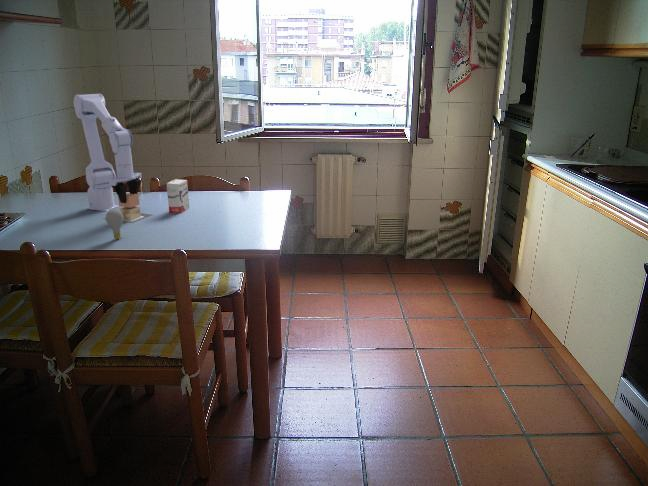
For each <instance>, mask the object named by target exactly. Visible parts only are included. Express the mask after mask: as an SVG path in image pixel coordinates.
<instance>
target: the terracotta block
mask: <svg viewBox="0 0 648 486" xmlns="http://www.w3.org/2000/svg"><path fill="white" fill-rule="evenodd" d="M117 198H118V205H119V206H120V207H121V208H123V207H129V208H131V207H134V206H139V205H140V197H139V194H132V193H130V192H126V199H127V200H126V203H121V202H120V199H119V197H118V196H117Z"/></svg>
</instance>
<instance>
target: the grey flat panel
mask: <svg viewBox="0 0 648 486" xmlns="http://www.w3.org/2000/svg"><path fill="white" fill-rule="evenodd" d="M140 214H141V217H140V218H137V219H134V220H123V223H128V224H133V223H136V222H139V221H141V220H144V219H147V218H149V217H152V216H153V214H149V213H144V212H143V213H142V212H140ZM103 220H105V221H106V217H105V218H103Z"/></svg>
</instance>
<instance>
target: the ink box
mask: <svg viewBox="0 0 648 486" xmlns="http://www.w3.org/2000/svg"><path fill="white" fill-rule="evenodd" d="M166 192H167V194H166V195H167V201H168V202H167V203H168V213H169V214H182V213H184V212H185V211H187V210H188V209H190V199H189V198H190V197H189V188H188V180H187V179H179V178H175V179H173V180H171V181H169V182H167V183H166Z"/></svg>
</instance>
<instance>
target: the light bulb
mask: <svg viewBox="0 0 648 486" xmlns="http://www.w3.org/2000/svg"><path fill="white" fill-rule="evenodd" d="M105 218H106V220H105V221H106V223H107V225H108V226H109V227H110V228H111V230H112V233H113V234H112V235H113V238H114V239H116V240H120V239H121V237H122V236H121V227H122V226H123V223H124V222H123V220H124V217H123V214H122V213H121V212H120V209H119V210H118V209H111V210H108V212H107V213H106V215H105Z"/></svg>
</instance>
